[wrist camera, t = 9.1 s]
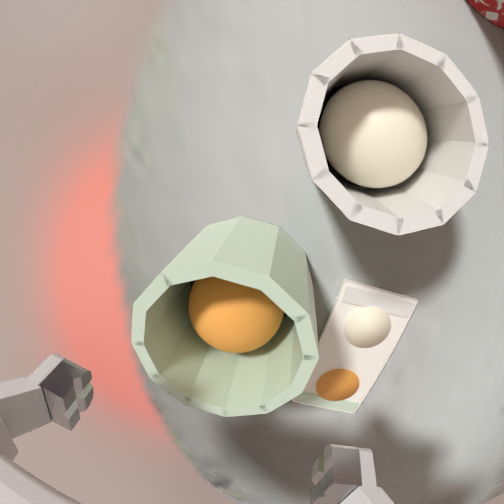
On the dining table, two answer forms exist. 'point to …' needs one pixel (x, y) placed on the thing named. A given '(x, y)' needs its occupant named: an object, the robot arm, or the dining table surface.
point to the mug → (490, 10)
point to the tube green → (216, 361)
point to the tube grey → (393, 133)
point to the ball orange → (232, 315)
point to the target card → (355, 345)
